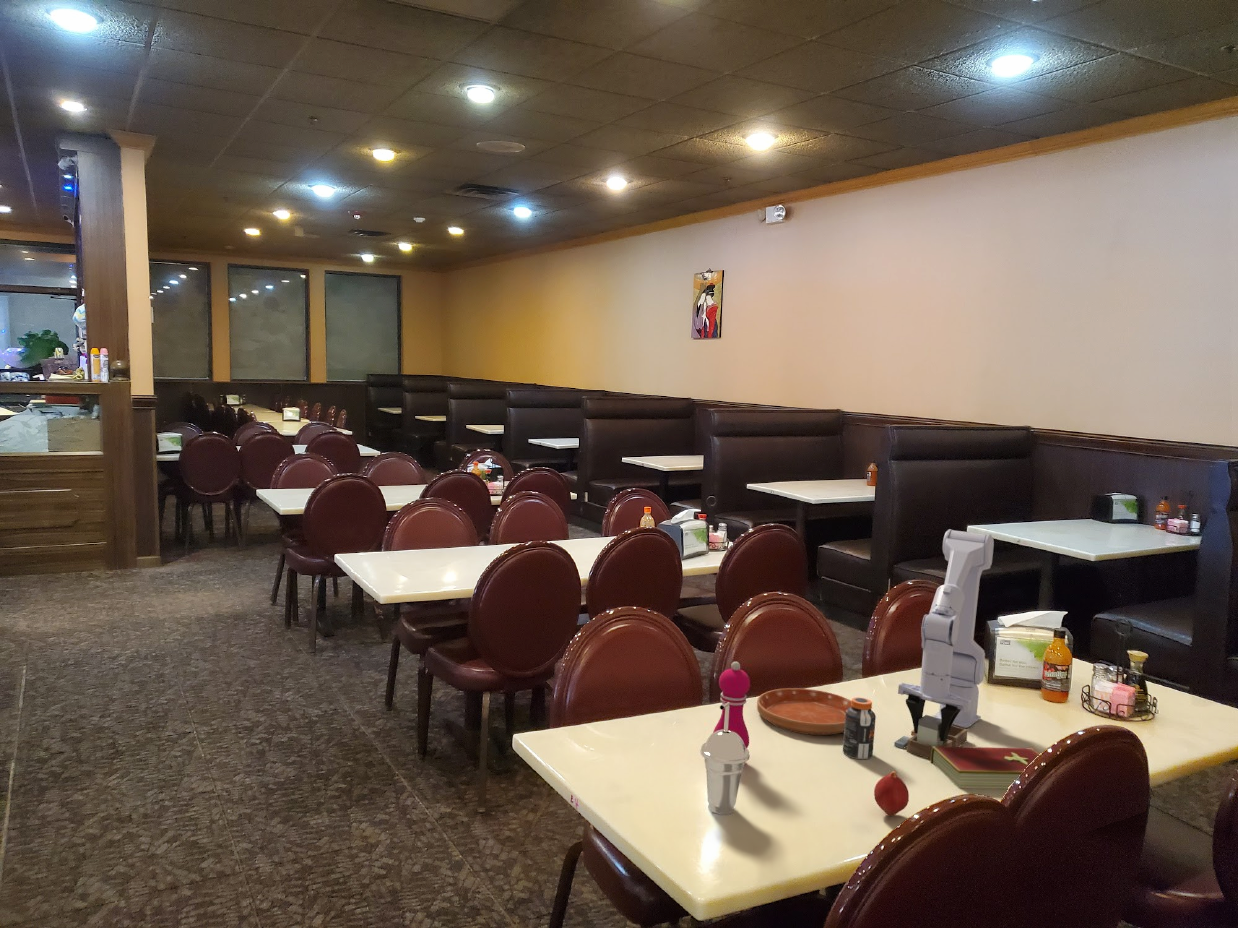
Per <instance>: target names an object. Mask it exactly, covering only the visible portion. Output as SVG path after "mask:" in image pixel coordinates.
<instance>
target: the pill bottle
mask: <svg viewBox="0 0 1238 928" xmlns="http://www.w3.org/2000/svg"><path fill="white" fill-rule="evenodd" d="M851 701H852V702H851V706H852V707H850V708H848V709H847V710H846V716H845V727H844V732H843V739H842V752H843V753H844V755H845V756H848V757H850V758H853V759H857V760H867V759H870V758H872V757H873V754H874V753H873V752H874V742H875V741H874V739H875V729H876V719H877V717H876V714H875V712H874V711H873V710H872V709H873V707H872V706H873V701H872V700H871V699H868V698H865V697H859V696H858V697H853V698H852V699H851Z"/></svg>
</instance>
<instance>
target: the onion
mask: <svg viewBox="0 0 1238 928" xmlns="http://www.w3.org/2000/svg"><path fill="white" fill-rule="evenodd" d="M873 795H874V801H875V803H876V804H877V806H878V807H879V808H880V810H882V811H883V812H884V813H885V814H886V815H887V816H888V815H889V816H890V817H892V816H895V815H896V814H898V813H900V812H901V811H904V809H906V807H907V806H908V804H909V802H910V801H909V799H910V798H909V797H910V795H909V789H908V787H907V785H906V783H905V782H904V781H903V780H902V778H900V777H899V776H898V775H897V772H896V771H891V772H890V773H889V774H887V775H884V776H883V777H882V778H880V779H879V780H878V781H877V782H876V784H875V787H874V791H873ZM889 816H888V817H889Z"/></svg>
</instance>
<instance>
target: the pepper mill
mask: <svg viewBox="0 0 1238 928" xmlns="http://www.w3.org/2000/svg"><path fill="white" fill-rule="evenodd" d="M718 684H719V688H720V690H721V691H722V692H721V693H720V699H719V700H720V701H721V705H722V704H723V703H725V702H726V701H728V702H729V705H730V708H729V722H728V730H731V731H733V732H735V733H737V734H738V735H739V736H740V737H741V738H742V740H743V742H744V745H745V747H746V748H747V749H748V748H749V745H750V735H749V731H748V729H747V725H746V722H745V720H744V705H745V704H747V694H746V693H747V692H748V691H750V687H751V680H750V676H749V675H748V674H747V673H746V672H745V671H744V670H742V669H741V663H739V662H738V661H732V663H731V665H730V668H728V669H726V670H724V671H723V672H722V673H721V675H720V676H719V680H718ZM724 722H725V708H724V709H723V710H721V715H720V718H719V720H718V722H717V724H716V725H715V727H714V729H713V732H712V733H714V732H716V731H718V730H722V729H724ZM744 765H746V762H745V763H744Z"/></svg>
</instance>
